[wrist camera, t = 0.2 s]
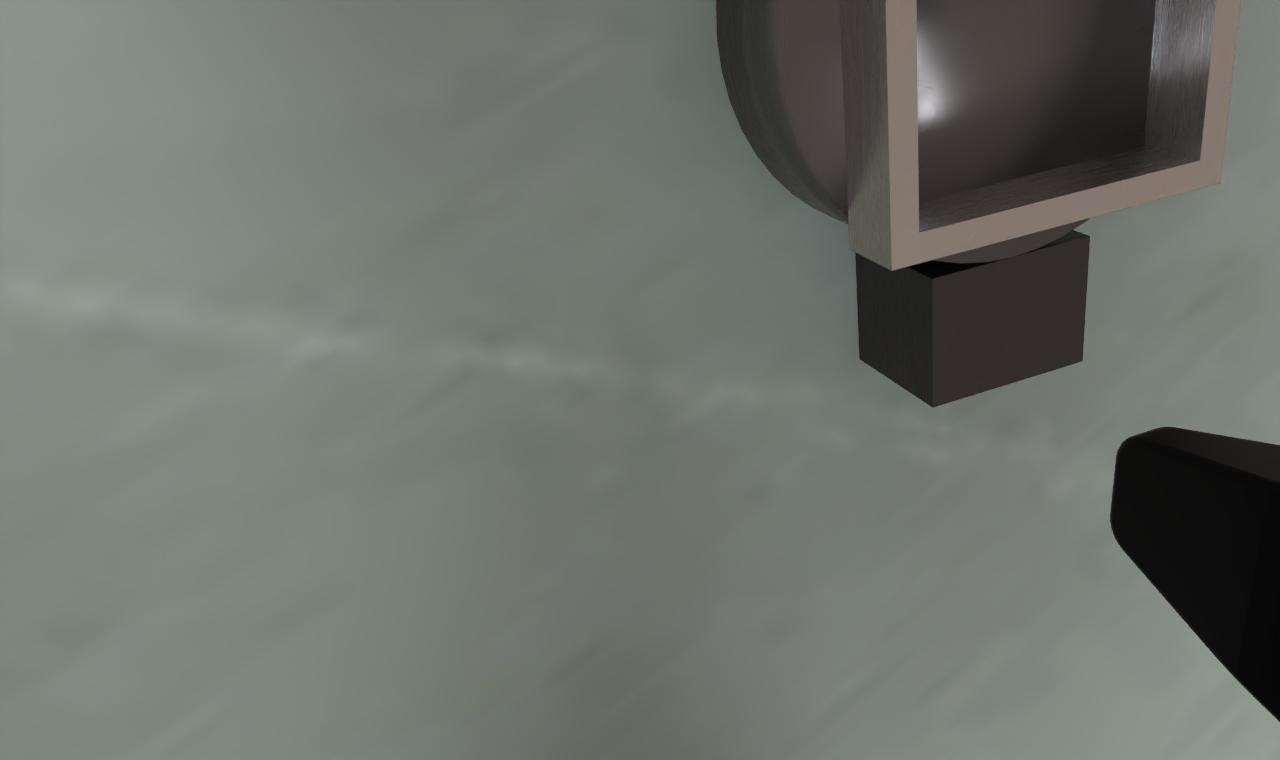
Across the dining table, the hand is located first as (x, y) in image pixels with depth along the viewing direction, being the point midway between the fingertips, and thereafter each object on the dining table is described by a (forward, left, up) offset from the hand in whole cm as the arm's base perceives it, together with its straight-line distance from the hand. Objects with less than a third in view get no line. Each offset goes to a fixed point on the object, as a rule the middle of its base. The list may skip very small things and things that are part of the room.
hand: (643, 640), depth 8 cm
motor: (0, -12, -15) cm, 19 cm away
